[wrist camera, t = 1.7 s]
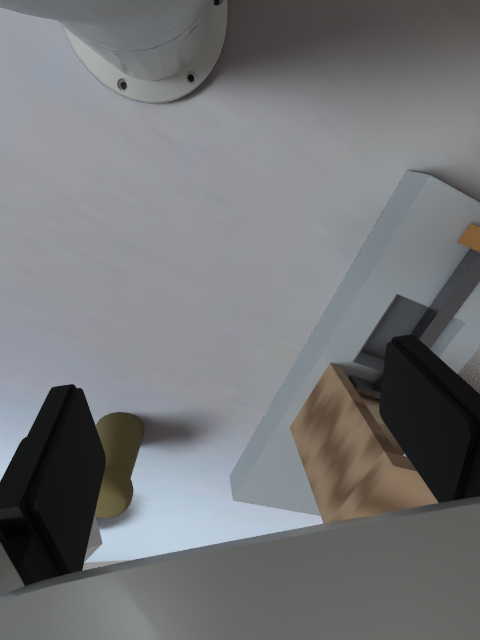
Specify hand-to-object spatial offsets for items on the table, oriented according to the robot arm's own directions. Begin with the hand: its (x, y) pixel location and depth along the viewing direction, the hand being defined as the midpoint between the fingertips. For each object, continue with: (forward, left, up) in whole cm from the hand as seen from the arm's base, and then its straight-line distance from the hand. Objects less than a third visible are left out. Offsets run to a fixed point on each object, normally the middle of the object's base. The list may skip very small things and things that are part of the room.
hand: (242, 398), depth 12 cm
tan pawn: (+30, +1, -29) cm, 41 cm away
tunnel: (+15, +27, -25) cm, 39 cm away
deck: (+11, +27, -29) cm, 41 cm away
